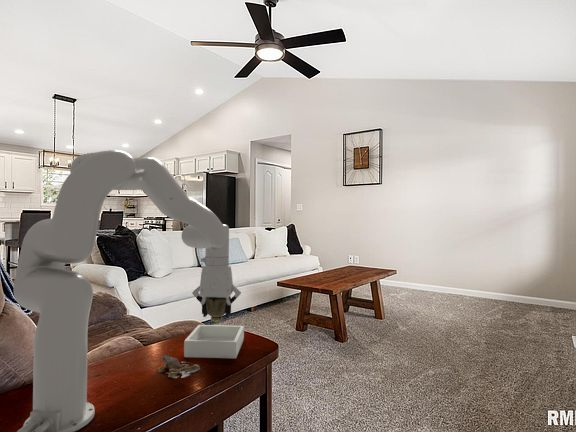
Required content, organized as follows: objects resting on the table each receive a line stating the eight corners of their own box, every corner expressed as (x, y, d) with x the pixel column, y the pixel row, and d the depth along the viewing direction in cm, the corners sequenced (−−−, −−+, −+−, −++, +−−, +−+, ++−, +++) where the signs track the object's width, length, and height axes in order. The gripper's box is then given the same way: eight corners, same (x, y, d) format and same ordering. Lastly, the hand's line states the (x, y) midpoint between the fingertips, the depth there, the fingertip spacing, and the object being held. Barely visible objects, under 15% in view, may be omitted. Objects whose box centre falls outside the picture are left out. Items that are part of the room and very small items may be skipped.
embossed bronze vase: (230, 318, 121) (231, 294, 121) (224, 324, 113) (225, 299, 113) (209, 316, 121) (209, 293, 121) (201, 323, 114) (202, 298, 114)
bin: (236, 358, 109) (236, 342, 109) (184, 357, 109) (184, 340, 109) (243, 340, 125) (244, 325, 125) (198, 339, 125) (198, 324, 125)
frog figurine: (144, 375, 98) (144, 361, 98) (176, 360, 108) (176, 347, 108) (175, 385, 92) (175, 370, 92) (206, 368, 103) (206, 354, 103)
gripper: (187, 262, 114) (186, 319, 114) (241, 263, 113) (241, 320, 113) (194, 259, 121) (193, 312, 121) (245, 260, 121) (244, 313, 121)
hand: (216, 315), depth 117 cm, fingers closed on embossed bronze vase, 6 cm apart
